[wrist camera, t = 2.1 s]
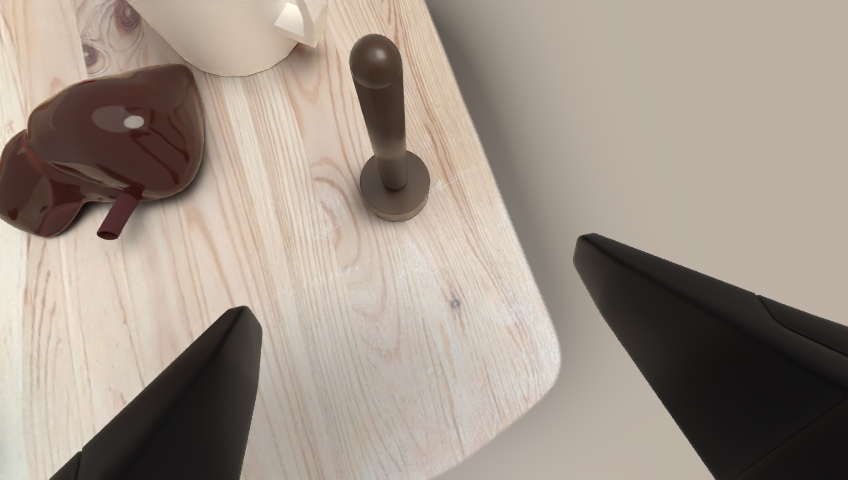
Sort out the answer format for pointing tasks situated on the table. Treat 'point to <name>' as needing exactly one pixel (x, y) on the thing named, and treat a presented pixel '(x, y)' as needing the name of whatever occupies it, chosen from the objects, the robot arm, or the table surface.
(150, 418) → the robot arm
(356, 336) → the table surface
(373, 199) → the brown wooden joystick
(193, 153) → the liver model
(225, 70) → the mug
